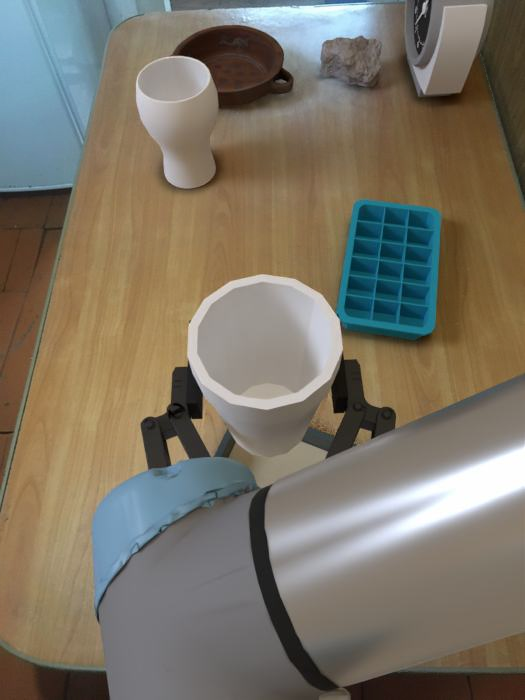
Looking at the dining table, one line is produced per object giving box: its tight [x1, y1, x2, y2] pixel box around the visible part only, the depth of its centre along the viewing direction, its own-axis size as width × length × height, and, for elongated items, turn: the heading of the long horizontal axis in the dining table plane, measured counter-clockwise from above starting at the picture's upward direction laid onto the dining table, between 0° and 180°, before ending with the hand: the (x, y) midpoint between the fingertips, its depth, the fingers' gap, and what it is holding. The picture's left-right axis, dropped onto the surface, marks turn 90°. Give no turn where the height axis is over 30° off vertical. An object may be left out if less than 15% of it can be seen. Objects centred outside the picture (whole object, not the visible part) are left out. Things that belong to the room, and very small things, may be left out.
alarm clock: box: [403, 0, 495, 98], centre depth 83 cm, size 18×8×20 cm, turn 3°
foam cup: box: [186, 273, 344, 458], centre depth 39 cm, size 10×9×13 cm
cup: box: [135, 55, 220, 189], centre depth 76 cm, size 11×11×15 cm
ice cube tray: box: [335, 198, 442, 341], centre depth 71 cm, size 12×20×3 cm, turn 169°
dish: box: [168, 24, 295, 107], centre depth 91 cm, size 18×22×5 cm
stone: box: [320, 35, 383, 88], centre depth 90 cm, size 8×10×6 cm
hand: (264, 327), depth 41 cm, fingers closed on foam cup, 9 cm apart
